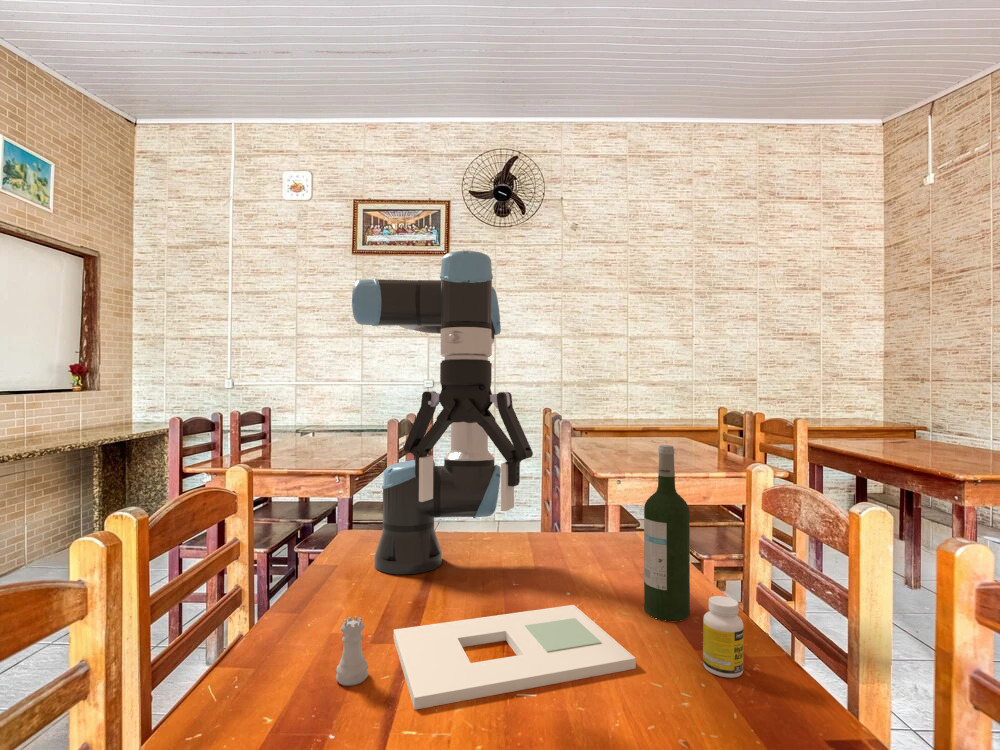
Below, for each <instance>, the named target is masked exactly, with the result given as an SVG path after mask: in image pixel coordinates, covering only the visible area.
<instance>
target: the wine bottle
mask: <svg viewBox="0 0 1000 750" xmlns="http://www.w3.org/2000/svg"><path fill="white" fill-rule="evenodd" d="M657 474H658V475H657V488H656V491H655V492H654V493H653V494H652V495H650V496H649V497H648V499H646V500H645V501H646V502H645V503H644V508H643V534H644V535H643V536H644V537H643V539H644V540H643V545H644V546H643V564H644V565H643V568H644V569H643V573H644V574H643V575H644V576H643V577H644V578H643V586H644V587H643V593H644V594H643V597H644V598H643V601H644V602H643V603H644V604H643V608H644V612H645V613H646V615H647V616H649V615H650V616H649V617H651V616H652V617H651V618H653V617H654V618H653V619H655V618H657V619H656V620H658V619H660V620H659V621H662V620H666V621H665V622H668V621H678V622H681V621H680V620H683V621H685V620H687V619H688V618H689V617H690V615H691V595H690V594H691V588H690V585H691V584H690V583H691V579H690V577H691V573H690V572H691V571H690V570H691V569H690V568H691V563H690V562H691V561H690V560H691V557H690V556H691V553H690V552H691V551H690V549H691V548H690V547H691V545H690V543H691V541H690V540H691V539H690V536H691V534H690V533H691V529H690V528H691V527H690V518H691V517H690V515H691V513H690V508H689V505H688V503H687V501H686V500H685V499H684V498H683V497H682V496H681V495H680V494H679V493H678V492H677V489H676V480H675V479H676V476H675V474H676V473H675V448H674V445H668V444H662V445H661V444H660V445H659V447H658V473H657ZM686 618H687V619H686ZM684 619H685V620H684Z"/></svg>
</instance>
